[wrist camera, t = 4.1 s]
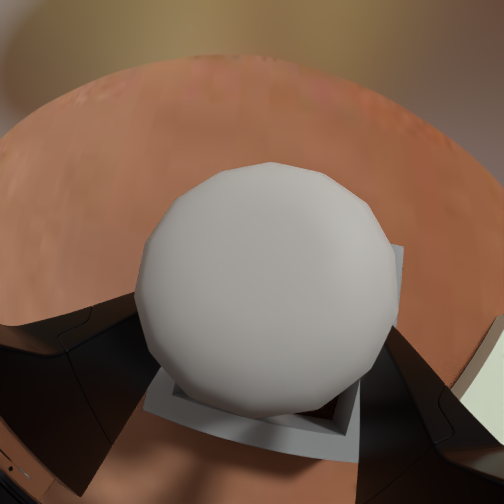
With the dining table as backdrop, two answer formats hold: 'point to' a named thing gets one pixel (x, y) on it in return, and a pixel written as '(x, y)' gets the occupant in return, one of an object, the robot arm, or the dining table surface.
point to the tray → (486, 382)
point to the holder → (270, 428)
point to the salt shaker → (267, 290)
